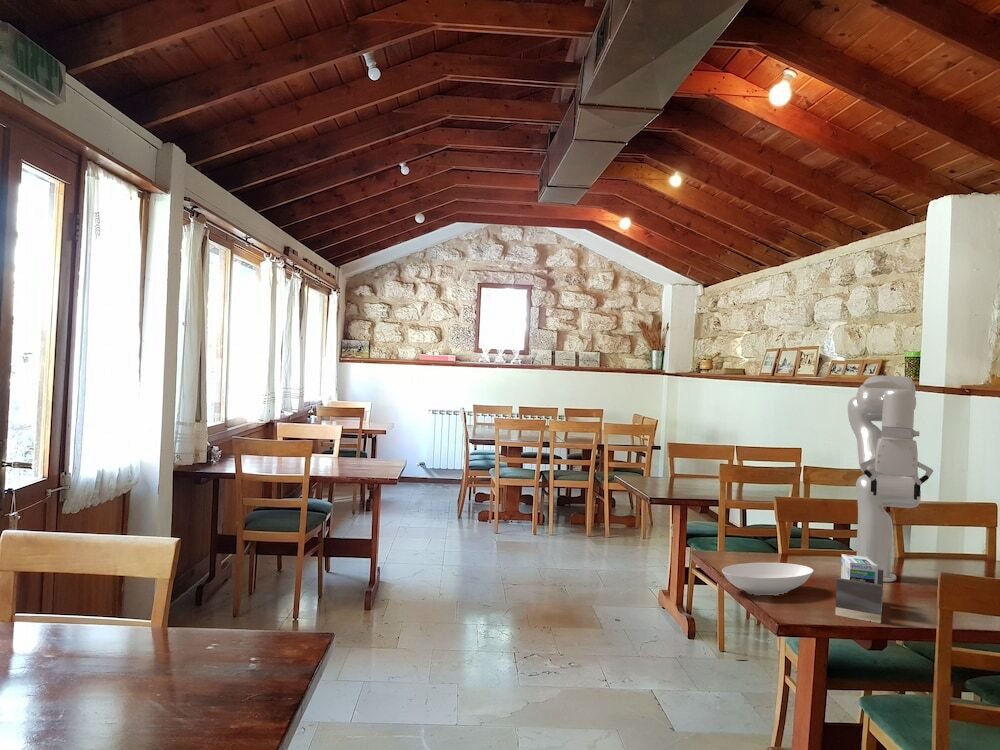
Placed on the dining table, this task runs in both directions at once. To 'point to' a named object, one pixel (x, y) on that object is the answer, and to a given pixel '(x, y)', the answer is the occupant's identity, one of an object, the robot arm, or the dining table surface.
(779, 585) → the bowl
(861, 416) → the robot arm
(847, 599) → the grey phone stand
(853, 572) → the light bulb box
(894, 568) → the dining table surface
